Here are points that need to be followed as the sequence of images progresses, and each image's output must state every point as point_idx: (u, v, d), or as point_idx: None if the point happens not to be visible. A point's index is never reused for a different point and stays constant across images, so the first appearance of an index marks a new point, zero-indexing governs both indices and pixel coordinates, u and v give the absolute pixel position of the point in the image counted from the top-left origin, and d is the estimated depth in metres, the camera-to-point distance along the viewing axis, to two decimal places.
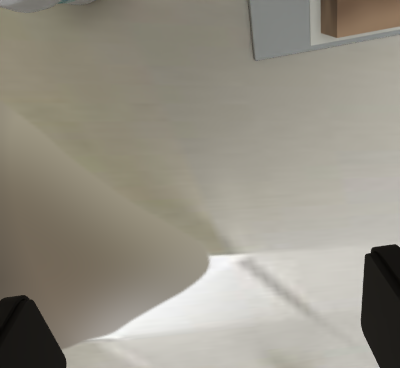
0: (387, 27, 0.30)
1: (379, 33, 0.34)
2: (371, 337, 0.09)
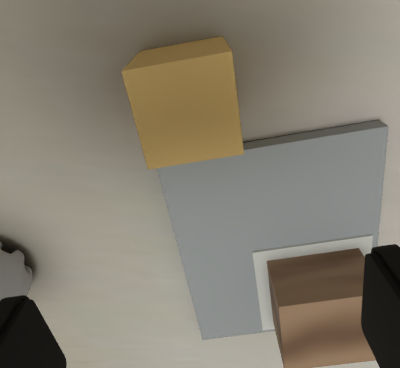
0: (341, 363, 0.26)
1: None
2: (371, 337, 0.09)
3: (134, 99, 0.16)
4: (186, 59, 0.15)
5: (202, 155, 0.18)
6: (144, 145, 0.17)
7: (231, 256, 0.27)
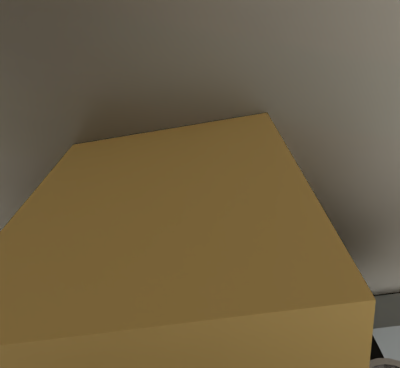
0: None
1: None
2: None
3: None
4: (168, 320, 0.04)
5: None
6: None
7: None
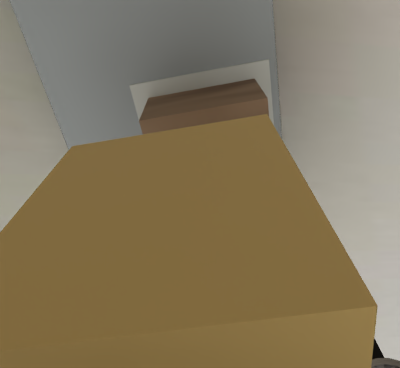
0: None
1: None
2: None
3: None
4: (167, 326, 0.04)
5: None
6: None
7: (106, 92, 0.23)
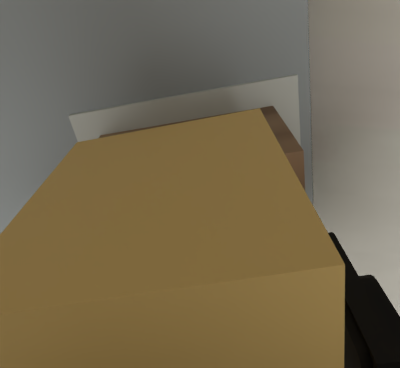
0: None
1: None
2: None
3: None
4: (164, 287, 0.04)
5: None
6: None
7: (32, 126, 0.14)
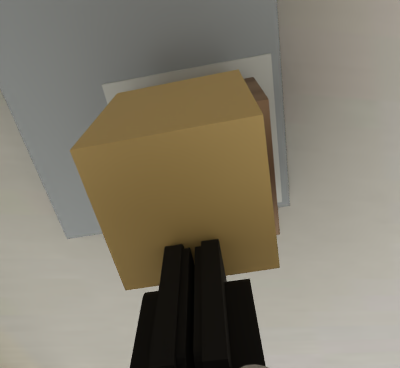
0: None
1: None
2: None
3: (95, 193, 0.10)
4: (182, 129, 0.09)
5: None
6: (117, 258, 0.11)
7: (74, 93, 0.19)
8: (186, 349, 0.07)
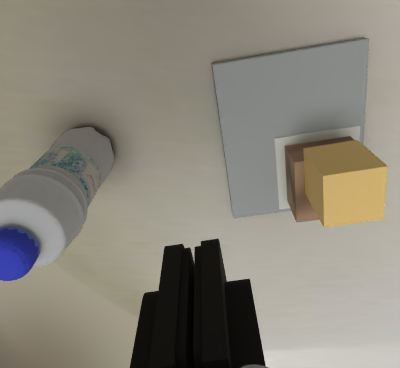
0: None
1: None
2: None
3: (326, 190, 0.28)
4: (360, 170, 0.28)
5: (358, 219, 0.30)
6: (325, 214, 0.29)
7: (259, 142, 0.38)
8: (186, 349, 0.07)
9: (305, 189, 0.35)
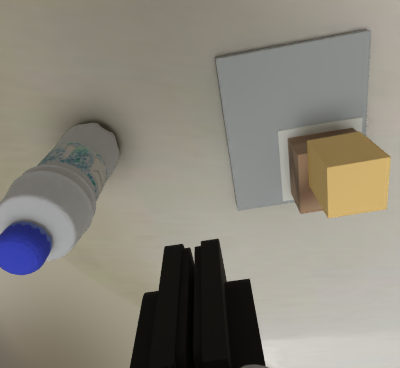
0: None
1: None
2: None
3: (330, 181, 0.29)
4: (364, 161, 0.28)
5: (362, 210, 0.30)
6: (329, 205, 0.30)
7: (262, 135, 0.38)
8: (186, 349, 0.07)
9: (309, 181, 0.35)
